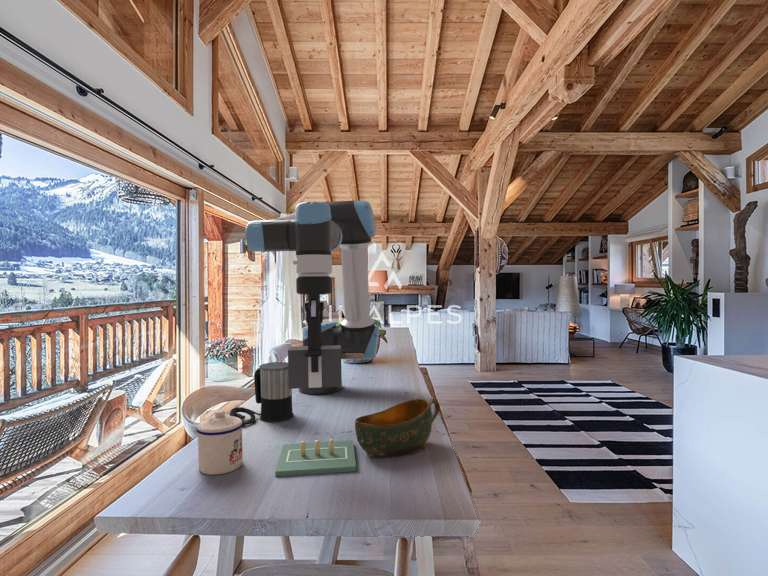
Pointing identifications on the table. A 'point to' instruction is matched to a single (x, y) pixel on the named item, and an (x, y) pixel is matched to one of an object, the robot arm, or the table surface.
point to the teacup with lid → (220, 444)
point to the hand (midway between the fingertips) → (315, 383)
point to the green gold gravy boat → (397, 429)
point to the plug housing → (329, 366)
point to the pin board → (316, 458)
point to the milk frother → (270, 394)
